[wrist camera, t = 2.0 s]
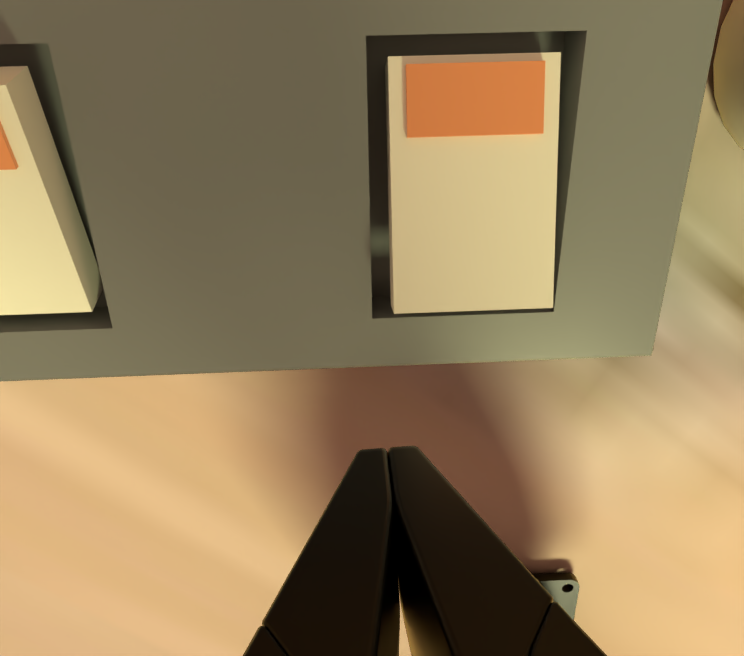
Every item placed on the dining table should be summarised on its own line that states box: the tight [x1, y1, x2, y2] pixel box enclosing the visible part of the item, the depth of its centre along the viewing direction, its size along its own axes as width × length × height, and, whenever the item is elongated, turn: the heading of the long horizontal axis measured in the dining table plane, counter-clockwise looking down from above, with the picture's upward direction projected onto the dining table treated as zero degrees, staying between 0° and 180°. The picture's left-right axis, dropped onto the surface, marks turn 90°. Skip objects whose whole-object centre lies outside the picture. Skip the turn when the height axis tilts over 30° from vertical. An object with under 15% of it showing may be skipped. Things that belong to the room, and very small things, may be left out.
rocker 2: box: [385, 52, 561, 314], centre depth 16 cm, size 6×4×1 cm, turn 1°
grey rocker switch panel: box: [0, 0, 723, 381], centre depth 17 cm, size 10×23×4 cm, turn 91°
